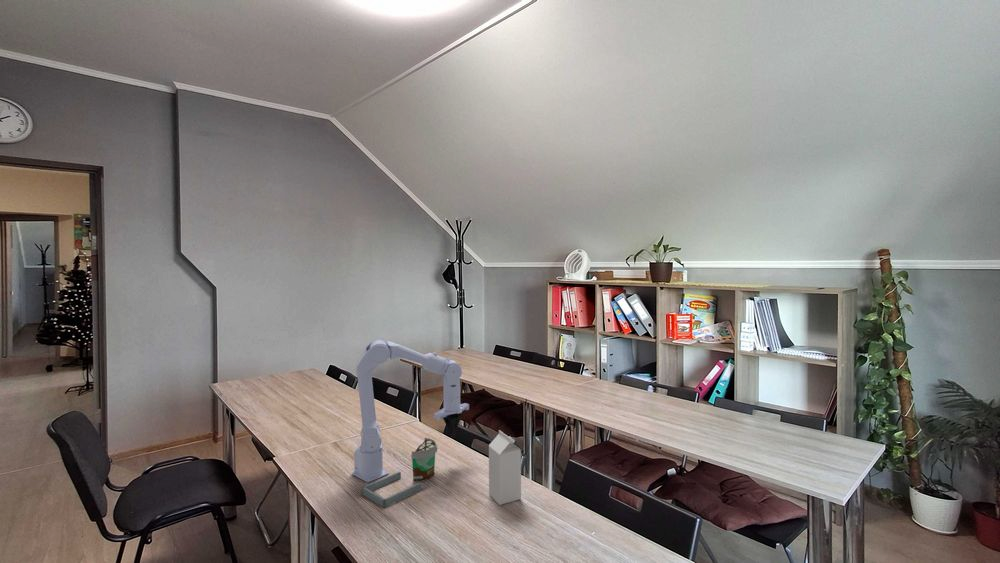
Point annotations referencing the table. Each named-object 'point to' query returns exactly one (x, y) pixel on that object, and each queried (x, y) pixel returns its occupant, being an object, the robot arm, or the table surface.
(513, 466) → the milk carton
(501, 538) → the table surface
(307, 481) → the table surface
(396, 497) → the u-shaped bracket
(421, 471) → the food container
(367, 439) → the robot arm
